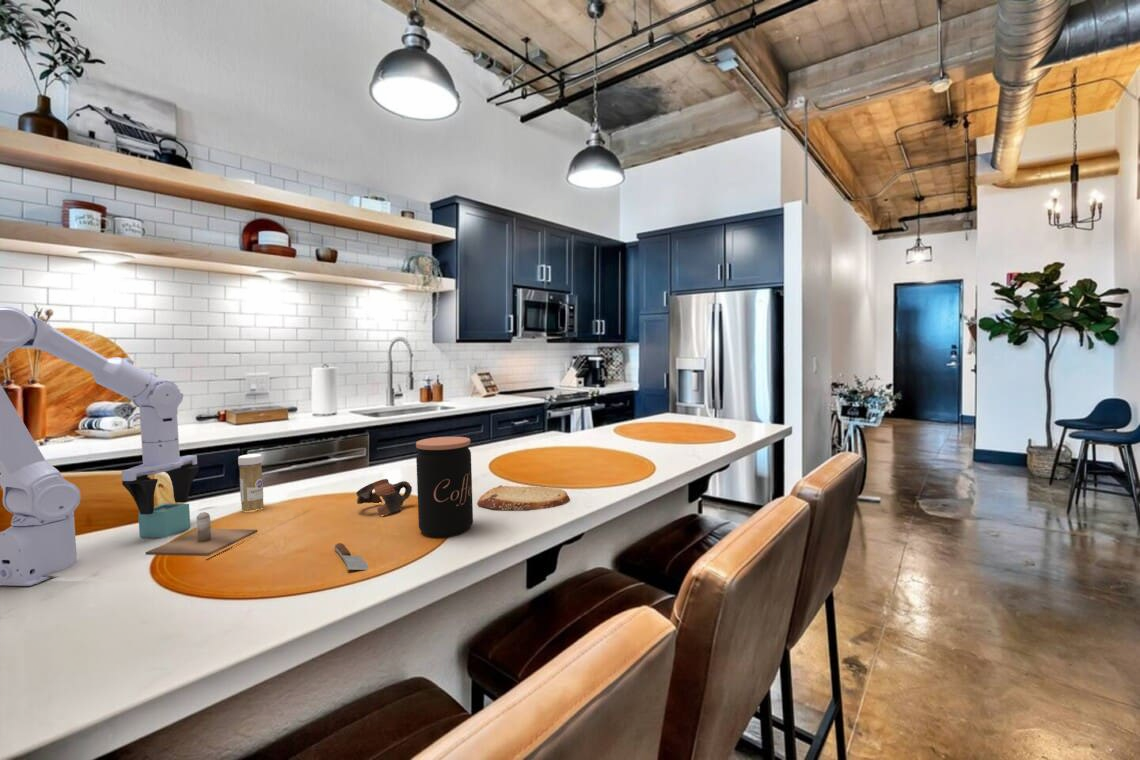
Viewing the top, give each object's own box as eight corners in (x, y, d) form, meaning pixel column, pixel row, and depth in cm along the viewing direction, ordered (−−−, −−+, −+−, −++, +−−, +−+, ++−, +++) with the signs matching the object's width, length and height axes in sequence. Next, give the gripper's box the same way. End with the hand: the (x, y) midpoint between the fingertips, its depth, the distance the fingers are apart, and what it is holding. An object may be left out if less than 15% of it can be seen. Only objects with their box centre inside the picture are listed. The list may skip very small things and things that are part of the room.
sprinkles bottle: (258, 515, 112) (255, 456, 112) (236, 517, 112) (233, 457, 111) (268, 509, 117) (265, 452, 116) (247, 510, 116) (244, 453, 116)
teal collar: (165, 537, 97) (164, 512, 97) (139, 537, 98) (138, 511, 97) (190, 527, 103) (189, 503, 102) (165, 527, 103) (164, 503, 103)
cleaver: (377, 565, 82) (345, 565, 80) (375, 574, 82) (343, 575, 80) (363, 542, 94) (334, 542, 91) (362, 550, 94) (333, 550, 91)
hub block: (208, 559, 87) (206, 523, 87) (145, 558, 89) (143, 522, 88) (257, 535, 99) (256, 503, 99) (202, 534, 100) (200, 502, 100)
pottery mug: (368, 523, 107) (353, 488, 109) (365, 531, 115) (351, 498, 116) (421, 499, 114) (406, 467, 115) (414, 508, 121) (401, 477, 123)
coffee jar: (433, 543, 93) (430, 447, 92) (409, 529, 101) (406, 441, 100) (483, 529, 100) (480, 440, 99) (457, 517, 108) (454, 434, 107)
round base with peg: (166, 543, 96) (164, 515, 96) (130, 542, 97) (128, 514, 97) (199, 529, 104) (197, 503, 103) (165, 529, 104) (164, 503, 104)
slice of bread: (576, 501, 119) (576, 486, 119) (521, 521, 106) (520, 503, 106) (525, 489, 131) (524, 475, 131) (469, 505, 118) (469, 490, 118)
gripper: (144, 447, 92) (148, 519, 92) (208, 434, 106) (212, 497, 107) (109, 447, 92) (114, 519, 93) (178, 434, 107) (182, 497, 108)
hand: (164, 507), depth 100 cm, fingers open, 7 cm apart
